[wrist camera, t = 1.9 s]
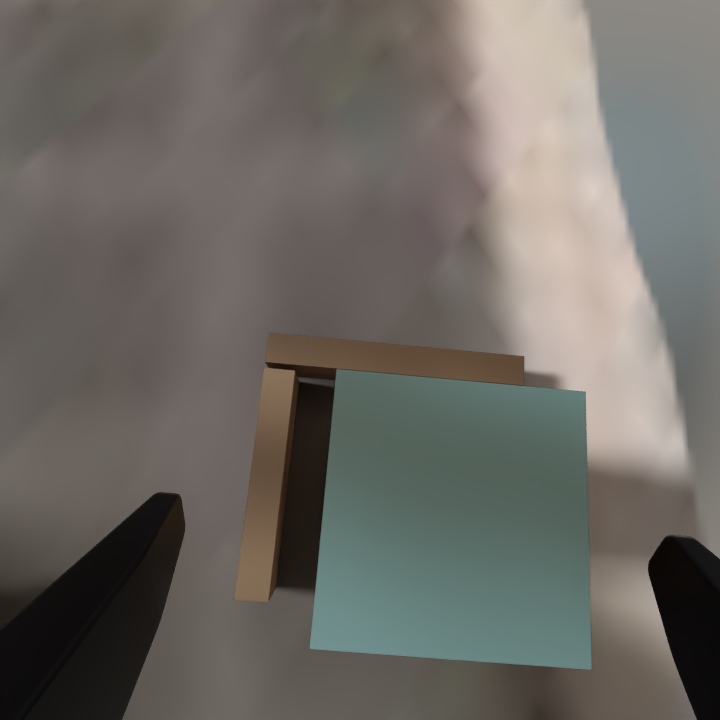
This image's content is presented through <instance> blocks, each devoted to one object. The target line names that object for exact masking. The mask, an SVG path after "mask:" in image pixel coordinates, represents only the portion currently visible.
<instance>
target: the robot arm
mask: <svg viewBox="0 0 720 720" xmlns="http://www.w3.org/2000/svg"><path fill="white" fill-rule="evenodd" d="M184 532H185V519H184V512H183V506H182V499H181V497H180V495H179V494H176V493H164V492H159V493H156V494H154V495H153V496H152V497H150V498H149V499H148V500H147V501H146V502H145V503H144V504H142V505H141V506H140V507H139V508H138V509H137V510H136V511H134V512H133V513H132V514H131V515H130V516H129V517H128V518H126V519H125V520H124V521H123V522H122V523H121V524H120V525H118V526H117V527H116V528H115V529H114V530H113V531H112V532H110V533H109V534H108V535H107V536H106V537H105V538H104V539H102V540H101V541H100V542H99V543H98V544H97V545H96V546H94V547H93V548H92V549H91V550H90V551H89V552H88V553H86V554H85V555H84V556H83V557H82V558H81V559H80V560H79V561H77V562H76V563H75V564H74V565H73V566H72V567H71V568H69V569H68V570H67V571H66V572H65V573H64V574H63V575H61V576H60V577H59V578H58V579H57V580H56V581H55V582H53V583H52V584H51V585H50V586H49V587H48V588H47V589H45V590H44V591H43V592H42V593H41V594H40V595H39V596H37V597H36V598H35V599H34V600H33V601H32V602H31V603H29V604H28V605H27V606H26V607H25V608H24V609H23V610H21V611H20V612H19V613H18V614H17V615H16V616H15V617H13V618H12V619H11V620H10V621H9V622H8V623H7V624H5V625H4V626H3V627H2V628H1V629H0V720H122V718H123V716H124V713H125V711H126V708H127V706H128V703H129V700H130V698H131V695H132V693H133V690H134V688H135V685H136V683H137V680H138V677H139V675H140V672H141V670H142V667H143V665H144V662H145V660H146V657H147V654H148V652H149V649H150V647H151V644H152V642H153V639H154V637H155V634H156V631H157V629H158V626H159V623H160V620H161V617H162V614H163V610H164V607H165V603H166V600H167V596H168V592H169V589H170V585H171V581H172V578H173V574H174V570H175V567H176V563H177V559H178V556H179V552H180V548H181V545H182V541H183V537H184ZM648 572H649V577H650V580H651V584H652V587H653V591H654V594H655V598H656V601H657V605H658V608H659V612H660V615H661V619H662V622H663V626H664V629H665V633H666V636H667V640H668V643H669V646H670V650H671V653H672V656H673V659H674V662H675V664H676V667H677V670H678V673H679V675H680V678H681V680H682V683H683V685H684V688H685V691H686V693H687V696H688V698H689V701H690V703H691V706H692V708H693V711H694V714H695V716H696V719H697V720H720V559H719V558H718V557H717V556H715V555H714V554H713V553H712V552H711V551H709V550H708V549H707V548H706V547H704V546H703V545H702V544H701V543H699V542H698V541H697V540H695V539H694V538H692V537H689V536H680V535H668V536H666V537H665V538H664V539H663V541H662V542H661V544H660V545H659V547H658V548H657V550H656V551H655V553H654V554H653V556H652V557H651V559H650V561H649V564H648Z"/></svg>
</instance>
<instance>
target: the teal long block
mask: <svg viewBox="0 0 720 720" xmlns="http://www.w3.org/2000/svg"><path fill="white" fill-rule="evenodd" d="M310 649H318V650H332V651H345V652H359V653H372V654H386V655H399V656H413V657H426V658H440V659H453V660H466V661H480V662H493V663H507V664H520V665H534V666H547V667H561V668H574V669H588V670H592V664H591V618H590V573H589V527H588V482H587V436H586V392H583V391H572V390H561V389H550V388H539V387H528V386H517V385H506V384H495V383H484V382H473V381H462V380H452V379H441V378H430V377H419V376H408V375H397V374H386V373H375V372H364V371H353V370H342V369H337V370H336V381H335V391H334V402H333V412H332V423H331V433H330V443H329V454H328V464H327V475H326V485H325V496H324V506H323V517H322V527H321V537H320V548H319V558H318V569H317V579H316V590H315V600H314V611H313V621H312V631H311V642H310Z"/></svg>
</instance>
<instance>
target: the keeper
mask: <svg viewBox="0 0 720 720" xmlns="http://www.w3.org/2000/svg"><path fill="white" fill-rule="evenodd" d="M265 363H266V364H267V366H268V367H269V368H264V374H263V382H262V389H261V397H260V405H259V412H258V420H257V428H256V436H255V443H254V451H253V459H252V466H251V474H250V482H249V489H248V497H247V505H246V513H245V520H244V528H243V536H242V543H241V551H240V559H239V566H238V574H237V582H236V590H235V597H234V600H246V601H259V602H269V600H270V598H271V596H272V594H273V592H274V590H275V588H276V584H277V575H278V566H279V557H280V548H281V539H282V531H283V522H284V513H285V504H286V495H287V486H288V477H289V468H290V459H291V451H292V442H293V433H294V424H295V415H296V406H297V397H298V388H299V380H298V377H297V376H303V377H314V378H325V379H336V370H337V369H342V370H353V371H364V372H375V373H386V374H397V375H408V376H419V377H430V378H441V379H452V380H462V381H473V382H484V383H495V384H506V385H517V386H524V356H515V355H505V354H494V353H483V352H472V351H462V350H451V349H440V348H429V347H419V346H408V345H397V344H386V343H376V342H365V341H354V340H343V339H333V338H322V337H311V336H300V335H290V334H279V333H269V335H268V343H267V351H266V359H265Z"/></svg>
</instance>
